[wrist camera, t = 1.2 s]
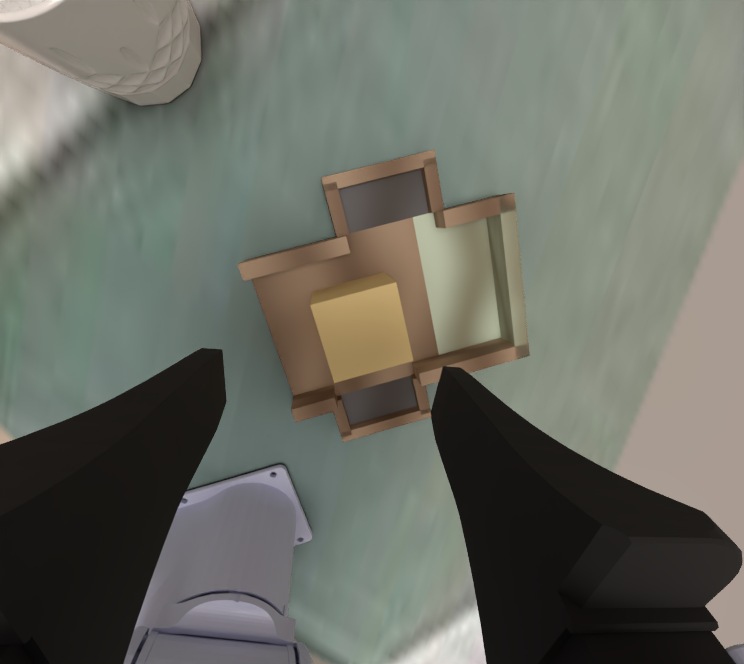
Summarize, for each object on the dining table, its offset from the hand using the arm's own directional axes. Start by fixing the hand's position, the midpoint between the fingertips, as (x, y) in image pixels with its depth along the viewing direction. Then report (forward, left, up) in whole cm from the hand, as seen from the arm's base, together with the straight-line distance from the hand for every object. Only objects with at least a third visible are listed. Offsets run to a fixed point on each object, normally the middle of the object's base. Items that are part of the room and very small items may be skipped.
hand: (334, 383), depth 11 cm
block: (+2, -2, -13) cm, 13 cm away
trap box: (+4, -2, -13) cm, 14 cm away
